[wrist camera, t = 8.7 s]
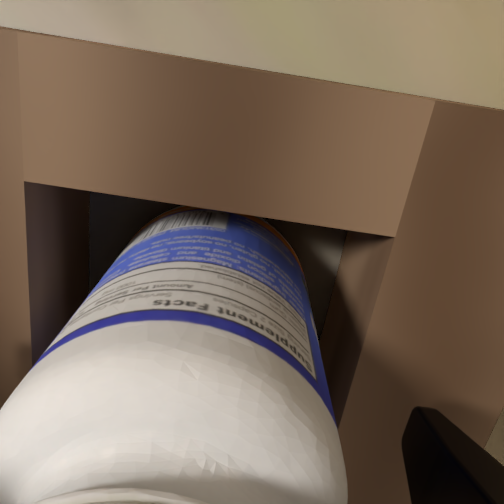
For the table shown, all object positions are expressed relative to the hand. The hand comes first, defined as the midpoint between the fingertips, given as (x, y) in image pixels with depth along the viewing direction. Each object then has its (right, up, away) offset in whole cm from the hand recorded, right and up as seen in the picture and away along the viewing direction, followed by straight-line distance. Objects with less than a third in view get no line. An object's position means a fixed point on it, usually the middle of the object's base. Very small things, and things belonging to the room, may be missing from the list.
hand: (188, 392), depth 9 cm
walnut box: (0, +2, +4) cm, 4 cm away
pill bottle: (0, +2, +4) cm, 5 cm away
